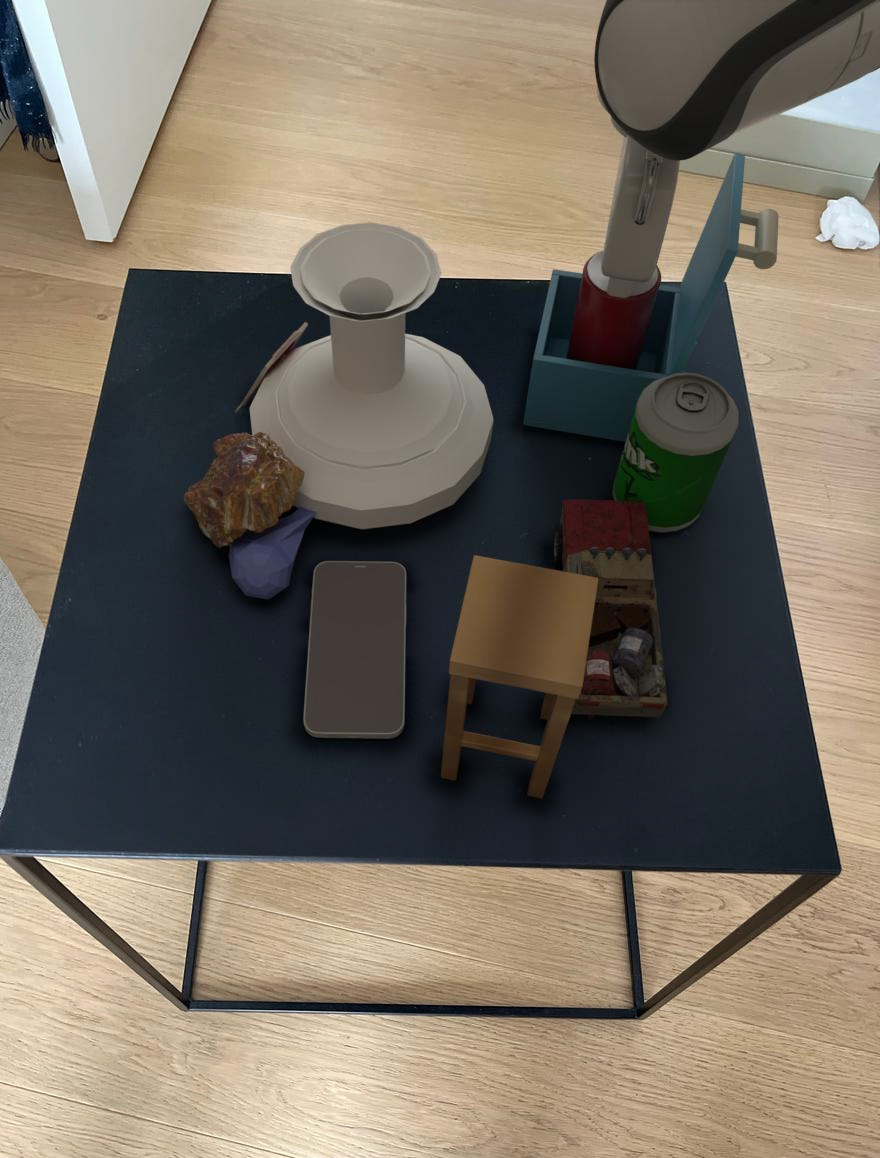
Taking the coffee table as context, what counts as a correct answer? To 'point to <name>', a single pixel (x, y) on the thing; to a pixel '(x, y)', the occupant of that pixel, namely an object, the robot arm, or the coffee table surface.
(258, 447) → the mineral specimen
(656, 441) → the soda can
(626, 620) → the toy vehicle
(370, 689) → the smartphone
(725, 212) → the lid
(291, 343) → the decorative emblem
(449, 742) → the stool
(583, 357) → the red canister
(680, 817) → the coffee table surface
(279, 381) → the candle holder
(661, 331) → the box
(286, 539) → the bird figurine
